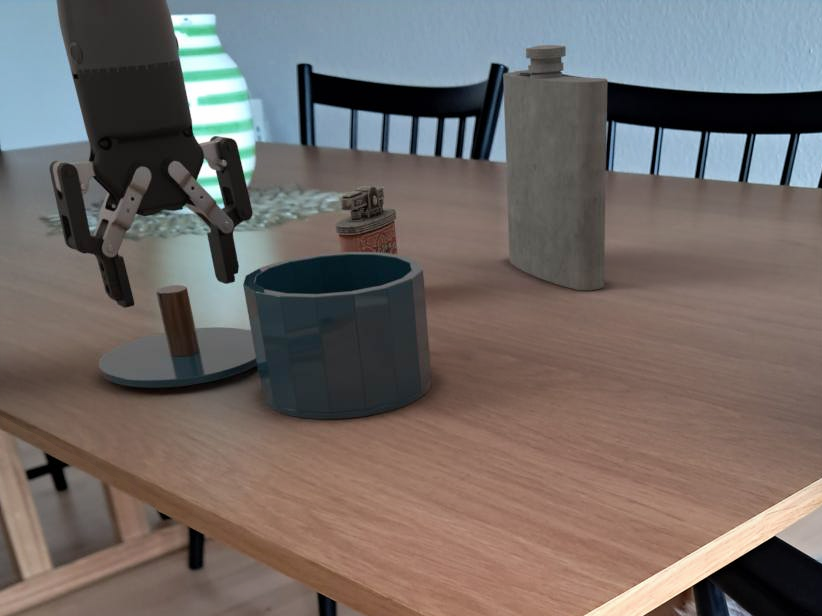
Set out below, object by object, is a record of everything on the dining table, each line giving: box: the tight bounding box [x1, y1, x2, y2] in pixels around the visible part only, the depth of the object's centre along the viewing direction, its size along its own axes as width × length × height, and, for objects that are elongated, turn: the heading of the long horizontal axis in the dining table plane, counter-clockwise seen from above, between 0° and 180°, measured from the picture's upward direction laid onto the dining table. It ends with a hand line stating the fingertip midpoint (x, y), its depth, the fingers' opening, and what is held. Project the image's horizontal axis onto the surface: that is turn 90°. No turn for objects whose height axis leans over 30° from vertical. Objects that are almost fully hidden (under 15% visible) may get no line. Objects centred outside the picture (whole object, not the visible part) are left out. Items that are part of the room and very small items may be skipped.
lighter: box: [334, 185, 399, 255], centre depth 95 cm, size 8×3×10 cm, turn 154°
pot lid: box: [98, 284, 257, 389], centre depth 81 cm, size 14×14×6 cm
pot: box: [242, 252, 432, 420], centre depth 74 cm, size 13×13×8 cm
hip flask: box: [502, 44, 608, 292], centre depth 97 cm, size 16×4×20 cm, turn 26°
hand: (177, 293), depth 80 cm, fingers open, 8 cm apart
